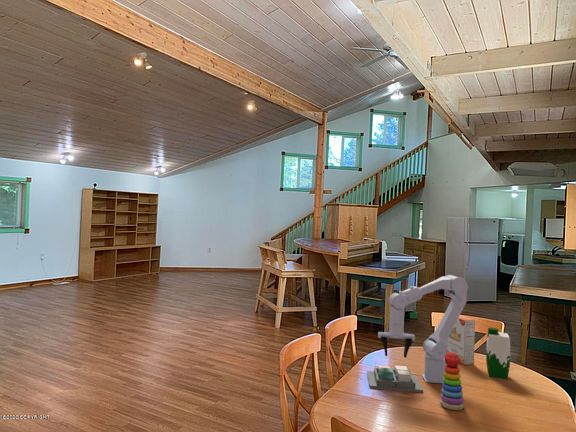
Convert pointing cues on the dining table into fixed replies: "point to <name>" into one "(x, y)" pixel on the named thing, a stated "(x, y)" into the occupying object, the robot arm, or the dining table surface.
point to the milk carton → (498, 354)
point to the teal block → (386, 374)
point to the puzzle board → (395, 380)
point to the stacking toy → (452, 384)
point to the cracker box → (462, 340)
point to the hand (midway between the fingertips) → (395, 356)
